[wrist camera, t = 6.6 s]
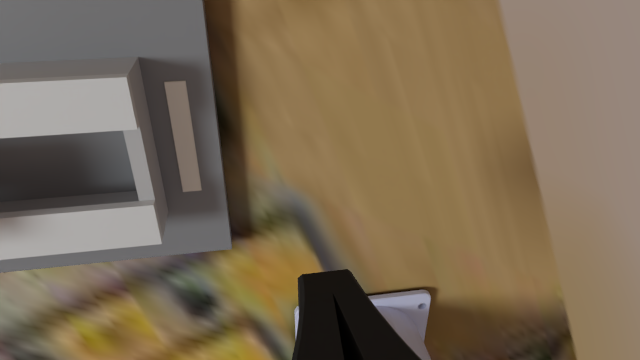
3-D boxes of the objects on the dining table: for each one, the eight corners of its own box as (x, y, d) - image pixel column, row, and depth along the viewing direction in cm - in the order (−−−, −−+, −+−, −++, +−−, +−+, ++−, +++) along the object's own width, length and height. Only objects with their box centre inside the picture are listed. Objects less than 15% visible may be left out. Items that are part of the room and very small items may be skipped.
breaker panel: (231, 236, 24) (232, 282, 21) (-125, 271, 22) (-179, 329, 19) (201, -21, 18) (196, -5, 15) (-299, -9, 15) (-420, 12, 13)
